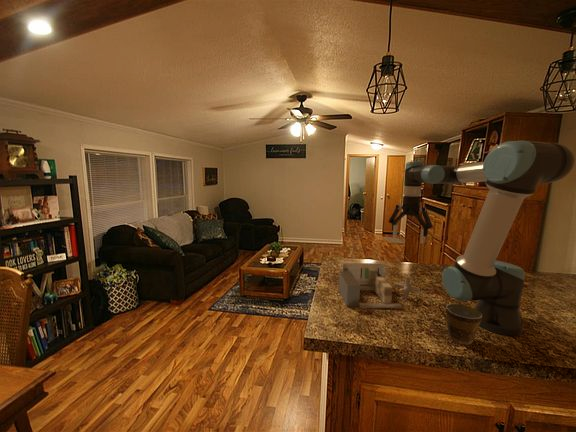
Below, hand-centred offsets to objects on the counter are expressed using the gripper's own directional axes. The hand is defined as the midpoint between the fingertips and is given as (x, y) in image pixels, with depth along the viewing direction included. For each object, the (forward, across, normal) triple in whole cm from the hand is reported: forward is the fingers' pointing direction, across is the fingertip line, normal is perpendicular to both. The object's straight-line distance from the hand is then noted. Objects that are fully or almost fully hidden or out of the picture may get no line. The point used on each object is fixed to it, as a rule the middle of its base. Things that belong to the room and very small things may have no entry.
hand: (408, 240), depth 130 cm
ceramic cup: (+23, -32, +27) cm, 48 cm away
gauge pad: (+22, 0, +20) cm, 30 cm away
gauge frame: (+23, +4, +26) cm, 35 cm away
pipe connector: (+23, -8, +13) cm, 27 cm away
